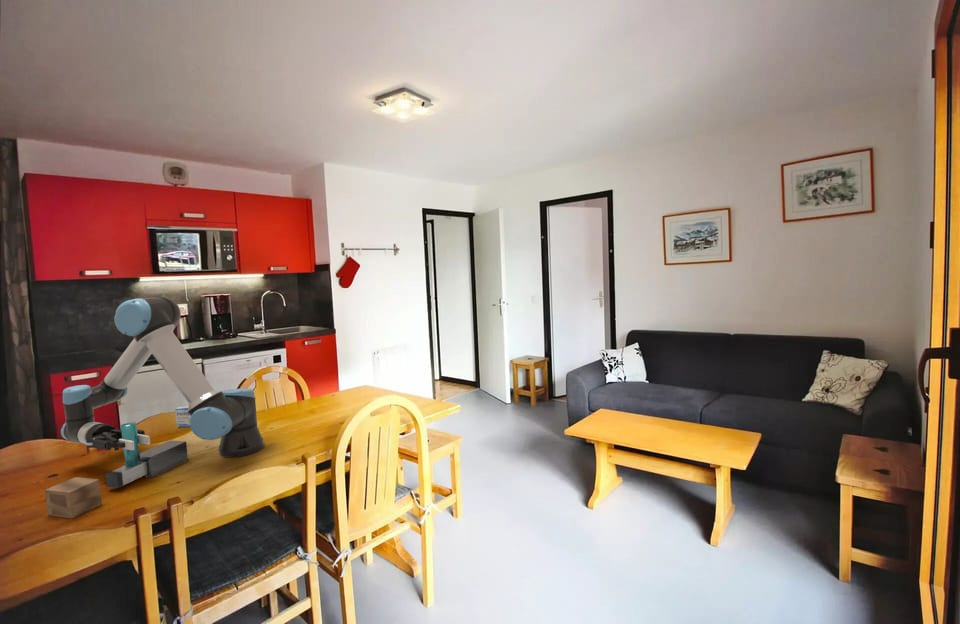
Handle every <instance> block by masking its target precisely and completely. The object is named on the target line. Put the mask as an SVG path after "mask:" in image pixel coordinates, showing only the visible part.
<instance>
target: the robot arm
mask: <svg viewBox="0 0 960 624" xmlns="http://www.w3.org/2000/svg"><path fill="white" fill-rule="evenodd" d="M181 315H182V314H181V309H180V306H179V305H178V304H177V302H176V301H174V300H173V299H171V298H169V297H167V296H154V297H153V296H152V297H146V298H145V297H143V298H142V297H141V298H138V297H137V298H134V299H129V300H126V301H124V302H122V303H120V304H119V306H118V307H117V308H116V310H115V315H114V325H115V326H116V329H117V330H118V331H119V332H120V333H121V334H122V335H126V336H128V337H133V339H132V341H131V342H130V343H129V345H128V346H127V348H126V349H125V350H124V351H123V353H122V354H121V355H120V356H119V358H118V359H117V361H116V362H115V363H114V365H113V366H112V368H111V369H110V370H109V372H108V373H107V374H106V375H105V377H104V378H103V379H102V380H101V381H100V383H99V384H97V385H95V386H92V387H91V386H90V385H89V384H88V385H87V384H81V385H80V384H79V385H73V386H69V387H66V388H64V389H63V391H62V403H63V409H64V410H63V411H64V417H65V419H64V420H65V422H64V424H63V425H62V427H61V429H60V435H61V437H62V438H63V439H65V440H67V441H68V442H71V443H77V444H82V445H86V448H87V449H89V448H90V449H91V448H92V449H99V450H104V451H110V450H112V449H113V450H114V451H115V452H116V451H119V450H120V449H122V450H124V449H128V450H135V447H134V441H130V440H125V439H122V432H121V429H117V428H115V426H114V425H111V424H108V423H103V422H96V421H95V413H94V412H95V411H94V410H95V409H98V408H100V407H103V406H106V405H108V404H112V403H115V402H119V400H121V399H123V398H125V396H126V395H127V394H128V386H129V384H130V383H131V381H132V380H133V379H134V378H135V376H136V375H137V373H138V372H139V371H140V370H141V368H142V367H143V366H144V365H145V363H146V362H147V361H148V359H149V358H150V356H151V355H152V356H153V357H154V358H155V359H156V362H158V364H159V365H160V366H161V368H162V369H163V371H164V372H165V374H166V375H167V376H168V378H170V380H171V382H172V383H173V384H174V385H175V387H176V389H177V390H178V391H179V393H180V394H181V396H183V398H184V399H185V401H186V403H188V406H189V407H188V413H189V414H190V416H191V418H190V427H189V428H190V430H191V432H192V433H193V434H194V435H195V436H196V437H198V438H200V439H201V440H207V441H214V440H217V439H220V441H219V442H220V443H219V445H218V455H219V456H221V457H224V458H237V457H244V456H247V455H251V454H254V453H256V452H260V451H261V450H262V449H263V448H264V446H265V440H264V437H262V434H261V432H260V429H259V427H258V418H257V416H258V415H257V405H256V399H257V398H256V395H255V391H254V389H252V388H233V389H226V390H218V389H214V387H213V386H212V384H211V383H210V382H209V380H208V379H207V377H206V376H205V375H204V373H203V372H202V371H201V369H200V367H199V366H198V364H196V362H195V361H194V359H193V358H192V357H191V356H190V354H189V353H188V351H187V349H185V347H184V346H183V344H182V343H181V342H180V340H179V339H178V337H177V336H176V334H175V332H174V330H175V328H176V327H178V325H179V322H180V320H181V317H182V316H181ZM137 433H138V442H139V444H140V445H141V444H142V445H147V446H149V445H151V437H150V435H146V433H145V430H143V429H142V430H141V429H138V428H137Z"/></svg>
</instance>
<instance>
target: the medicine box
mask: <svg viewBox="0 0 960 624" xmlns="http://www.w3.org/2000/svg"><path fill="white" fill-rule="evenodd" d="M188 407H189V405H181V406H178V407H176V408H175V409H174V412H178V413H175V414H174V415H175V424H176V423H177V425H179V427H182V429H183V428H185V429H186V428H190V418H191V416H190V414H189V413H188Z"/></svg>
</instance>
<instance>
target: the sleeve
mask: <svg viewBox="0 0 960 624" xmlns="http://www.w3.org/2000/svg"><path fill="white" fill-rule="evenodd" d="M140 460H148V466H149V473H148V474H146V475H144V476H147V477H146V478H148V477H153V478H155V477H157V476H159V475H161V474H163V473H165V472H167V471H169V470H171V469H174V468H175V466H176V465H178V464H180V463H182V464H184V463H185V461H186V462H188V461H189V458H188V445H187V441H185V440H184V441H181V440H168V441H165V442H163V443H161V444H159V445H156V446H153V447H151V448H149V449H147V450H144V451H141V452H140ZM187 460H188V461H187ZM183 462H184V463H183ZM180 465H181V464H180ZM178 466H179V465H178ZM173 467H174V468H173ZM176 467H177V466H176ZM166 470H167V471H166ZM164 471H165V472H164ZM162 472H163V473H162ZM160 473H161V474H160ZM158 474H159V475H158ZM156 475H157V476H156ZM154 476H155V477H154Z"/></svg>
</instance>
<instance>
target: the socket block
mask: <svg viewBox="0 0 960 624" xmlns="http://www.w3.org/2000/svg"><path fill="white" fill-rule="evenodd" d="M44 495H45V501H46V509H47V516H49V517H50V516H51V517H59V518H67V519H74V518H76V517H78V516H80V515H84V513H86V512H89V511H91V510H93V509H95V508H97V507H98V506H101V505H103V501H102V493H101V485H100V479H99V478H87V477H78V476H77V477H76V476H75V477H73V478H71V479H68V480H66V481H63V482H61V483H58V484H55V485H53V486H50V487H49V488H46V489H44Z"/></svg>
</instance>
